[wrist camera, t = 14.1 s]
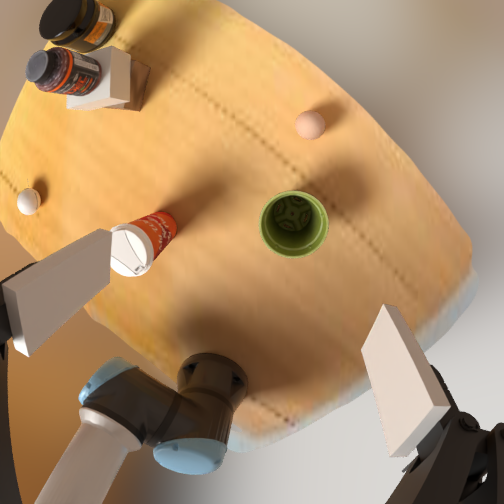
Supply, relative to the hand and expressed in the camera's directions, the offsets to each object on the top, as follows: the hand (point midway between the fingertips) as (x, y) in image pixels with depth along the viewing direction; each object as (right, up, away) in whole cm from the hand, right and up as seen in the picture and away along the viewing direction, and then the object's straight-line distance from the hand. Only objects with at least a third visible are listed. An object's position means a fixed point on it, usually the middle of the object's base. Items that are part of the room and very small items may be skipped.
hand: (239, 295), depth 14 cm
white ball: (-45, +14, +39) cm, 62 cm away
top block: (-22, +29, +25) cm, 44 cm away
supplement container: (-29, +44, +27) cm, 59 cm away
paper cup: (-15, +6, +39) cm, 42 cm away
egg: (+9, +21, +31) cm, 39 cm away
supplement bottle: (-23, +27, +20) cm, 40 cm away
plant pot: (+7, +8, +36) cm, 37 cm away
